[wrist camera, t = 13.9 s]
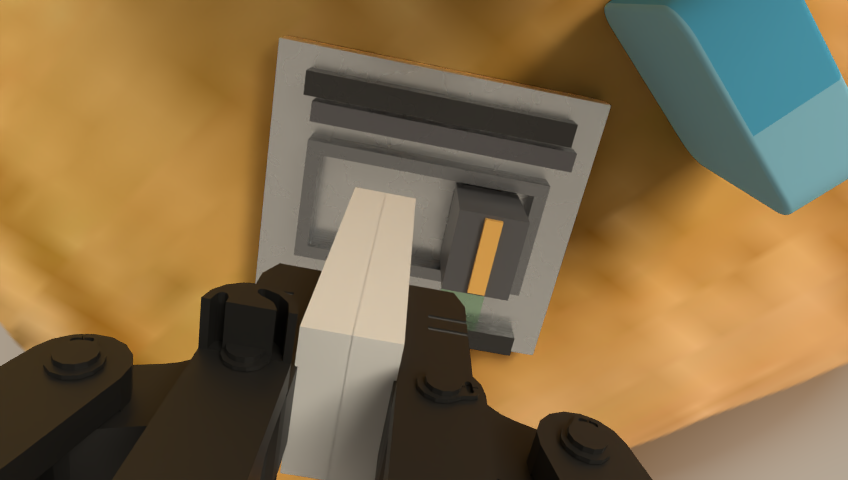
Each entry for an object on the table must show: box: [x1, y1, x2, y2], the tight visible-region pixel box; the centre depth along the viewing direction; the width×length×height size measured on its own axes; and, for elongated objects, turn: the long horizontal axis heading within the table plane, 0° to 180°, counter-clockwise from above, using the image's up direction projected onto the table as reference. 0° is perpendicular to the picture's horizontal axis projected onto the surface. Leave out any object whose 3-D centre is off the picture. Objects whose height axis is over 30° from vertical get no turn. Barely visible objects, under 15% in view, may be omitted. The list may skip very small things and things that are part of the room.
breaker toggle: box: [440, 183, 530, 301], centre depth 36 cm, size 5×4×5 cm
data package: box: [604, 0, 848, 215], centre depth 31 cm, size 12×4×12 cm, turn 38°
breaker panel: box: [255, 36, 611, 356], centre depth 38 cm, size 18×20×4 cm
